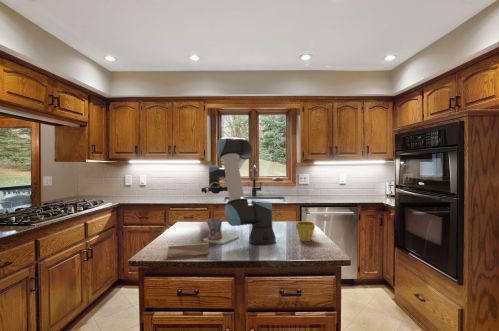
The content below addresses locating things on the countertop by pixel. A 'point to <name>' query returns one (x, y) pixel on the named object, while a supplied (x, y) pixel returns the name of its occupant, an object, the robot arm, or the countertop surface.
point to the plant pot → (305, 230)
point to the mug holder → (188, 249)
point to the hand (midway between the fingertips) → (218, 190)
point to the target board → (222, 239)
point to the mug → (214, 228)
